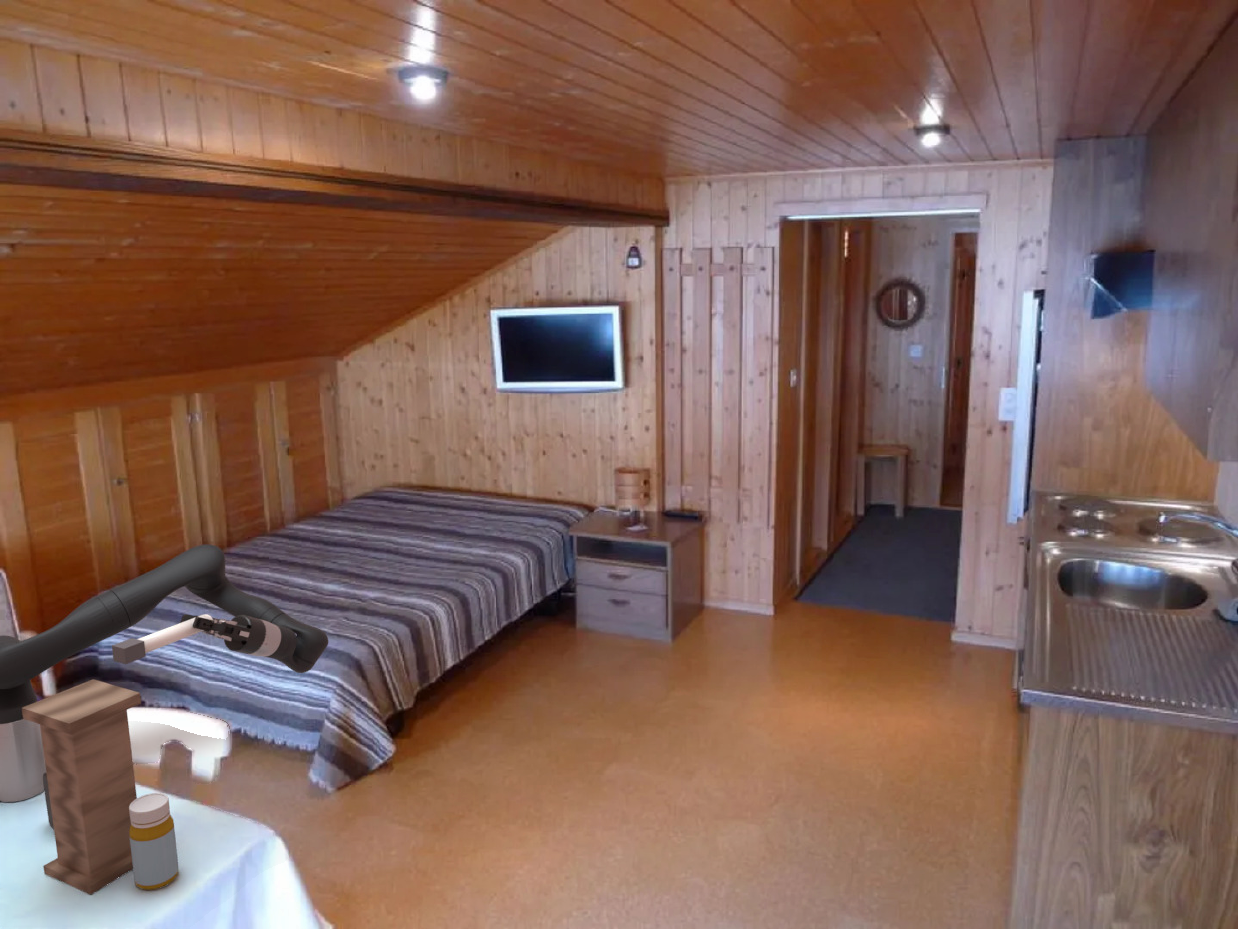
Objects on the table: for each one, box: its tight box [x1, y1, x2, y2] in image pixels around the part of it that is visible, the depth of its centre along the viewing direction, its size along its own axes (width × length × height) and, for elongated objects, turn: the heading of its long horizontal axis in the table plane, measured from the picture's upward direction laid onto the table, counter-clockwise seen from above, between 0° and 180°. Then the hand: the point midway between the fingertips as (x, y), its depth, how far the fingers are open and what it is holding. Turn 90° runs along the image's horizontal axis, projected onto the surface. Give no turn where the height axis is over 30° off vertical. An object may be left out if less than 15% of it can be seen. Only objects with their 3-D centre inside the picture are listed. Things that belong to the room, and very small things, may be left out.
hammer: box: [111, 613, 213, 665], centre depth 174 cm, size 20×3×3 cm, turn 154°
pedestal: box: [22, 678, 142, 896], centre depth 164 cm, size 13×13×32 cm
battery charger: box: [43, 773, 54, 830], centre depth 177 cm, size 7×4×11 cm, turn 48°
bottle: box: [129, 792, 180, 891], centre depth 161 cm, size 7×7×15 cm
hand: (189, 620), depth 179 cm, fingers closed on hammer, 3 cm apart
